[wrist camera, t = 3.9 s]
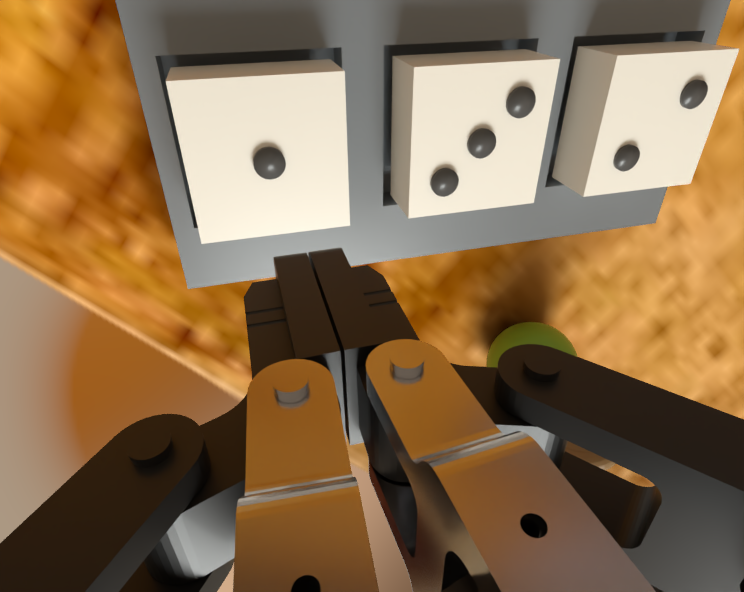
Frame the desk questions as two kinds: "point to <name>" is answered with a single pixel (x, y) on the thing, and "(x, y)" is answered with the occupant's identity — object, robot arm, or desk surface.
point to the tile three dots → (469, 129)
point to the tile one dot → (263, 146)
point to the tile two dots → (639, 114)
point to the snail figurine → (546, 337)
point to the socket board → (389, 109)
